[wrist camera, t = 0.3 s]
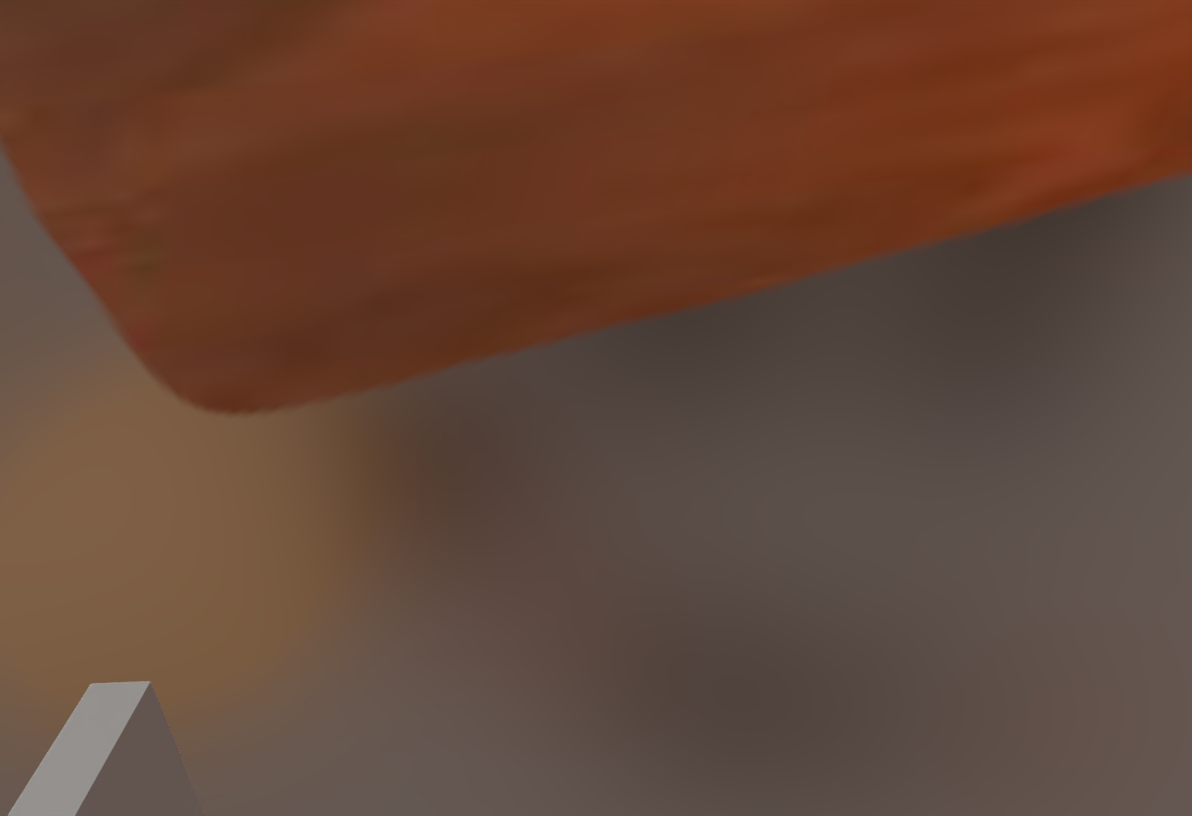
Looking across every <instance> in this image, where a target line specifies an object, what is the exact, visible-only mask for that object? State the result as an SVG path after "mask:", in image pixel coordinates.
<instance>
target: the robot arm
mask: <svg viewBox="0 0 1192 816" xmlns="http://www.w3.org/2000/svg"><path fill="white" fill-rule="evenodd" d="M8 816H205V815H204V812H203V810H202V807H201V805H200V802H199V800H198V798H197V795H196V793H195V790H194V788H193V785H192V783H191V780H190V778H189V775H188V773H187V771H186V768H185V765H184V763H183V760H182V758H181V755H180V753H179V751H178V748H177V745H176V743H175V740H174V738H173V736H172V733H171V731H170V728H169V726H168V723H167V721H166V718H165V716H164V713H163V711H162V708H161V706H160V703H159V701H158V698H157V696H156V693H155V691H154V688H153V686H152V683H151V681H144V682H118V683H94V684H90V686H89V688H88V689H87V691H86V692H85V694H84V696H83V697H82V699H81V700H80V702H79V703H78V705H77V707H76V708H75V710H74V711H73V713H72V714H71V716H70V718H69V719H68V721H67V722H66V724H65V726H64V727H63V729H62V730H61V732H60V733H59V735H58V737H57V738H56V740H55V741H54V743H53V744H52V746H51V748H50V749H49V751H48V753H47V754H46V756H45V757H44V759H43V760H42V762H41V763H40V765H39V767H38V768H37V770H36V772H35V773H34V775H33V776H32V778H31V779H30V781H29V783H28V784H27V786H26V787H25V789H24V790H23V792H22V794H21V795H20V797H19V798H18V800H17V801H16V803H15V805H14V806H13V808H12V809H11V811H10V813H9V814H8Z"/></svg>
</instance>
